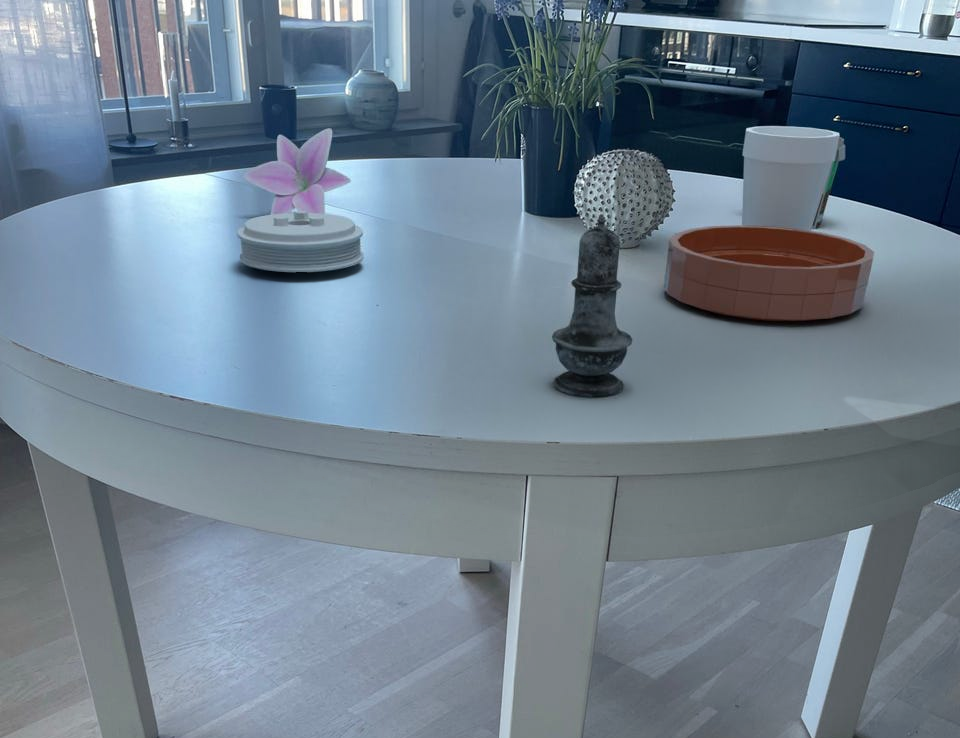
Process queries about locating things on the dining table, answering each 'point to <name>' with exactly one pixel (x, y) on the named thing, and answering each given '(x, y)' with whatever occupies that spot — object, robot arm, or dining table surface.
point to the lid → (300, 242)
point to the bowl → (767, 272)
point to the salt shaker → (593, 320)
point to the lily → (299, 175)
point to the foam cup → (785, 174)
